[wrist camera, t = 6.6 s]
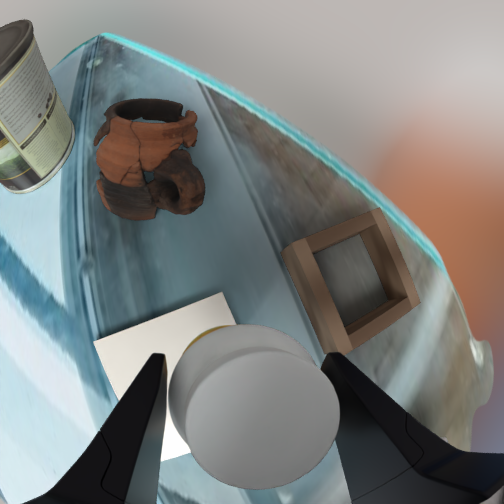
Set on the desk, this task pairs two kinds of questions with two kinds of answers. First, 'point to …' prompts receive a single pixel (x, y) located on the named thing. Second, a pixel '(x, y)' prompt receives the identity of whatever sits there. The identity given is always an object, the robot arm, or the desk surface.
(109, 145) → the broken brown clay pot
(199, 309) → the off-white coaster
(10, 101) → the coffee can
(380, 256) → the walnut holder
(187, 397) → the supplement bottle
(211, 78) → the desk surface
